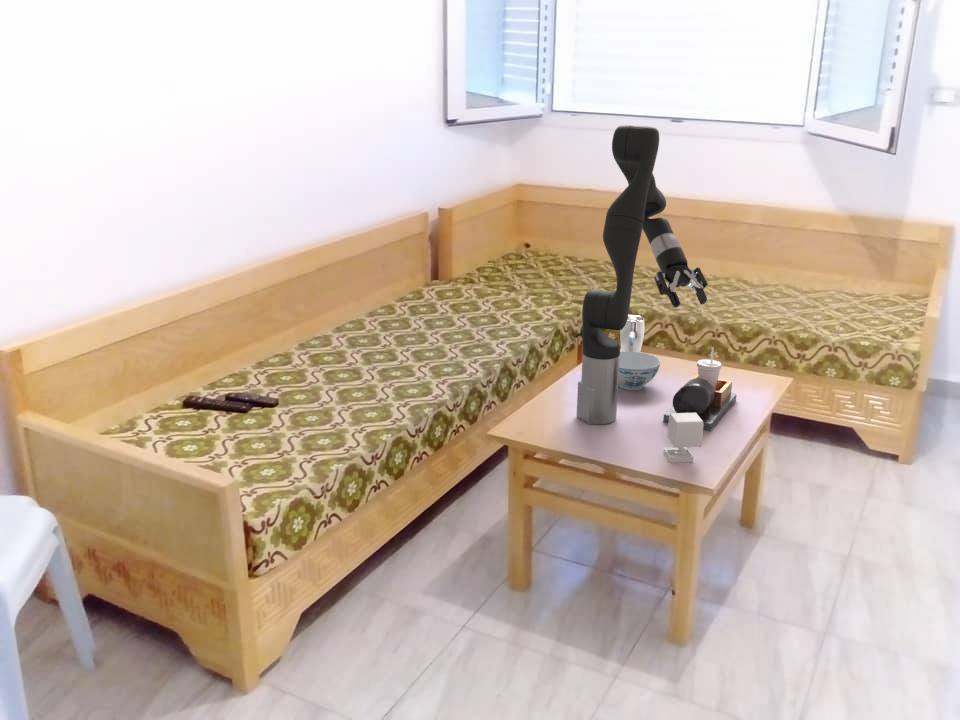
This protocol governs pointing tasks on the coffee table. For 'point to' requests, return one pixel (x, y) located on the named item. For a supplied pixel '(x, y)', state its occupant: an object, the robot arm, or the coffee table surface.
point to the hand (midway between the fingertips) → (691, 304)
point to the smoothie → (709, 370)
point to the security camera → (683, 436)
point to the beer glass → (632, 334)
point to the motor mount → (703, 400)
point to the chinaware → (636, 369)
